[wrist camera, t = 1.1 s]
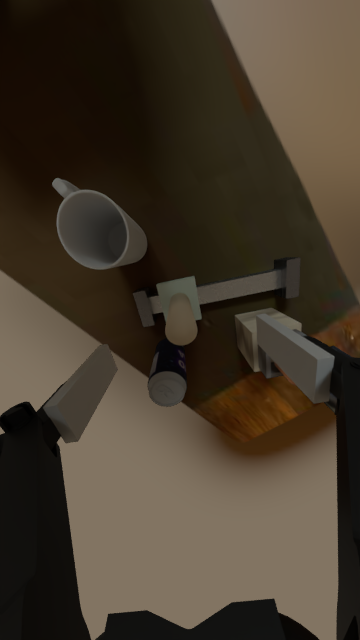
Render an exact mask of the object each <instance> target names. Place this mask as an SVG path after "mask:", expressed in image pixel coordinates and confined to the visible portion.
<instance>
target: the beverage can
mask: <svg viewBox="0 0 360 640" xmlns="http://www.w3.org/2000/svg"><path fill="white" fill-rule="evenodd" d="M148 390H149V395H150V398H151V399H152V401H153V402H155V403H156V404H158V405H161V406H167V407H168V406H174V405H176V404H178V403H180V402H181V401H182V399H183V398H184V395H185V392H186V390H187V378H186V364H185V350H184V346H183V345H176V344H173V343H172V342H170V341H169V340H168V338H167V339H164V340H162V341H160V342H159V343H158V345H157V347H156V351H155V355H154V360H153V364H152V368H151V372H150V376H149V381H148Z"/></svg>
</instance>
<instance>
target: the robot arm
mask: <svg viewBox="0 0 360 640" xmlns="http://www.w3.org/2000/svg"><path fill="white" fill-rule="evenodd" d="M256 327H257V344H258V345H259V346H260V347H261V348H262V349H263V350H264V351H265V352H266V353H267V354H268V355H269V357H270V358H271V359H272V360H273V361H274V362H275V363H276V364H277V365H278V366H279V367H280V368H281V369H282V370H283V371H284V372H285V374H286V375H287V376H288V377H289V378H290V379H291V380H292V381H293V382H294V383H295V384H296V385H297V386H298V387H299V388H300V389H301V391H302V392H303V393H304V394H305V395H306V396H307V397H308V398H309V399H310V400H311V401H312V402H313V403H314V404H315V403H321V402H327V401H329V396H330V392H331V393H332V394H333V395H334V396H335V397H336V398H337V401H336V408H335V415H336V417H337V418H336V419H337V420H336V424H337V425H336V426H337V502H338V577H339V578H338V579H339V580H338V582H339V583H338V584H339V585H338V602H337V640H360V358H348V357H347V356H345V355H343V354H341V353H340V352H338V351H336V350H335V349H333V348H331V347H328V345H326V344H324V343H322V342H321V341H319V340H317V339H315V338H312V337H309V336H301V335H299V334H297V333H296V332H294V331H293V330H291V329H289V328H288V327H286V326H285V325H283V324H281V323H280V322H278V321H277V320H275V319H273V318H272V317H270V316H268V315H267V314H265V313H264V314H259V315H256ZM117 370H118V369H117V367H116V364H115V361H114V359H113V356H112V354H111V351H110V349H109V346H108V344H105V345H100V346H99V347H98V348H97V349H96V350H95V351H94V352H93V353H92V354H91V355H90V356H89V358H88V359H87V360H86V361H85V362H84V363H83V364H82V365H81V366H80V367H79V368H78V370H77V371H76V372H75V373H74V374H73V375H72V376H71V377H70V378H69V379H68V381H66V382H65V383H64V384H62V385H61V386H60V387H59V388H58V389H57V391H56V392H55V393H54V394H53V395H52V396H51V397H50V398H49V399H48V400H47V401H46V402H45V403H44V404H43V405H42V407H41V408H40V409H39V410H38V411H37V412H36V411H35V410H34V408H33V407H32V405H31V404H30V403H29V402H23V403H20V404H18V405H15V406H14V407H12V408H10V409H9V410H7V411H6V412H4V413H3V414H2V415H1V416H0V427H1V428H2V429H3V430H4V432H5V433H4V434H1V435H0V640H91V638H90V634H89V631H88V628H87V625H86V623H85V620H84V618H83V615H82V611H81V607H80V601H79V593H78V585H77V577H76V570H75V562H74V555H73V547H72V540H71V532H70V525H69V517H68V509H67V501H66V494H65V486H64V479H63V471H62V463H61V456H60V448H59V446H58V444H57V441H58V440H59V438H60V437H62V438H63V440H64V442H65V443H70V442H77V441H78V440H79V439H80V437H81V435H82V433H83V431H84V430H85V428H86V426H87V424H88V422H89V421H90V419H91V417H92V415H93V413H94V412H95V410H96V408H97V406H98V404H99V403H100V401H101V399H102V397H103V395H104V393H105V392H106V390H107V388H108V386H109V384H110V383H111V381H112V379H113V377H114V375H115V373H116V372H117ZM95 640H319V639H318V638H317V637H316V636H315V635H314V634H312V633H311V632H310V631H309V630H307V629H306V628H305V627H303V626H302V625H301V624H299V623H298V622H296V621H294V620H293V619H291V618H289V617H288V616H285V615H283V614H281V613H278V611H277V607H276V603H275V600H274V599H265V600H254V601H243V602H233V603H230V604H229V605H227V606H226V607H224V608H223V609H221V610H220V611H218V612H217V613H215V614H214V615H212V616H211V617H209V618H208V619H206V620H205V621H203V622H202V623H200V624H199V625H197V626H196V627H194V628H192V629H185V628H183V627H181V626H179V625H176V624H174V623H172V622H170V621H168V620H166V619H164V618H162V617H160V616H158V615H156V614H153V613H151V612H149V611H147V610H146V611H135V612H124V613H114V614H108V617H107V622H106V627H105V632H104V633H102V634H101V635H100V636H99V637H98V638H96V639H95Z"/></svg>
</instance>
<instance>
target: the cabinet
mask: <svg viewBox="0 0 360 640" xmlns="http://www.w3.org/2000/svg"><path fill="white" fill-rule="evenodd" d="M264 313H265V314H267V315H268V316H270V317H272V318H273V319H275V320H277V321H278V322H280V323H281V324H283V325H285V326H286V327H288V328H289V329H291V330H293V331H294V332H296V333H297V334H299V335H301V336H307V335H305V334H304V333H302V332H301V323H299V322H297V321H296V320H294V319H292V318H290V317H288V316H286V315H284V314H282V313H281V312H279V311H277V310H275V309H273V308H268V309H263V310H258V311H253V312H248V313H243V314H238V315H235V325H236V336H237V346H238V348H239V350H240V351H241V353H242V354H243V356H244V357H245V359H246V360H247V362H248V363H249V365H250V366H251V368H252V369H253V371H254V372H257V371H262V373H263V374H264V376H265V377H266V378H272V377H278V376H283V374H282V373H281V372H280V371H279V370H278V368H277V367H276V366H275V364H274V361H273V360H272V359H271V358H270V357H269V355H268V354H267V353H266V352H265V351H264V350H263V349H262V348H261V347H260V346H259V345H258V344H257V327H256V315H259V314H264Z"/></svg>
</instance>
